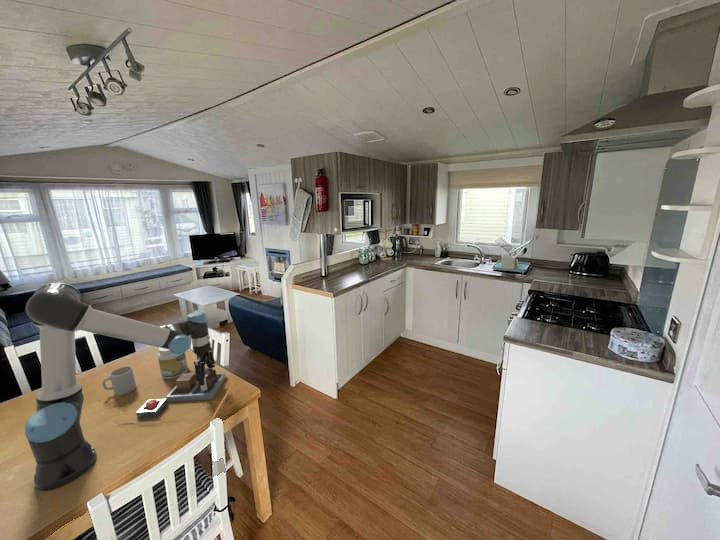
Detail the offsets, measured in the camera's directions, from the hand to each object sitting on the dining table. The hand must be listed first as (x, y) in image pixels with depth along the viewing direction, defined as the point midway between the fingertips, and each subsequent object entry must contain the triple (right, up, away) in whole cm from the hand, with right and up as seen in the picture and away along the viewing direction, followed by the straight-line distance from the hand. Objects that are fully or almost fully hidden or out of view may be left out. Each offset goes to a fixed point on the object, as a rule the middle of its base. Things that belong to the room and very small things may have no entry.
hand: (208, 384), depth 138 cm
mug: (-44, -4, 0) cm, 44 cm away
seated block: (-10, -2, 0) cm, 10 cm away
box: (0, -1, 0) cm, 1 cm away
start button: (-17, -6, -14) cm, 23 cm away
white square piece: (-17, -7, -14) cm, 23 cm away
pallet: (-5, -3, 0) cm, 6 cm away
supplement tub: (-26, 0, +14) cm, 30 cm away
